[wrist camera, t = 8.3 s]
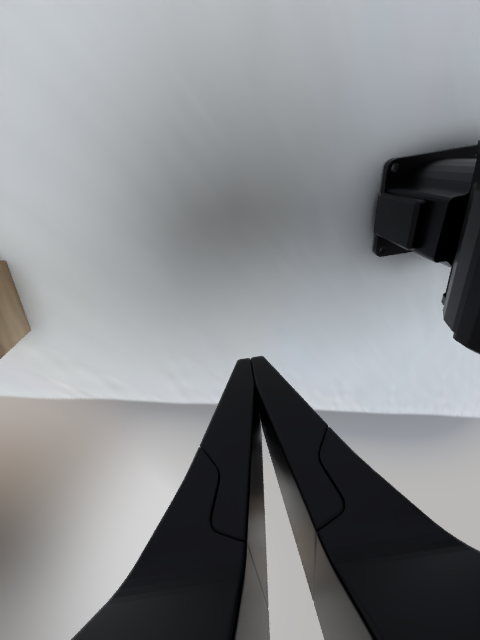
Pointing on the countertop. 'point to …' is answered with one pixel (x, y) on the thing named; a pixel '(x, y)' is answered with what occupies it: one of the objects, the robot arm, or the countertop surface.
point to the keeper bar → (10, 312)
